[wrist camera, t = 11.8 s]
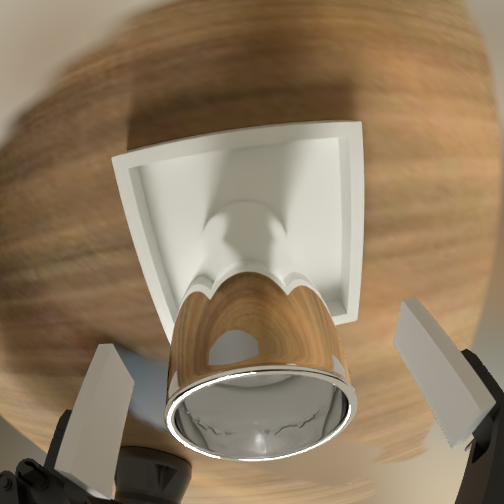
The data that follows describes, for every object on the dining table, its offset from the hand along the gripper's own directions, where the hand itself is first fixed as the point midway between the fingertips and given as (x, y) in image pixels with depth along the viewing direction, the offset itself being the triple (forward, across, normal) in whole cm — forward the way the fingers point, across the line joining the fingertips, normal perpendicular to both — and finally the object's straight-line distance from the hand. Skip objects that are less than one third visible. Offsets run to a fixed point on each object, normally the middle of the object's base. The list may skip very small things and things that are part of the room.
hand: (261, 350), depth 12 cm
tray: (+12, 0, 0) cm, 12 cm away
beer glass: (+11, 0, 0) cm, 11 cm away
